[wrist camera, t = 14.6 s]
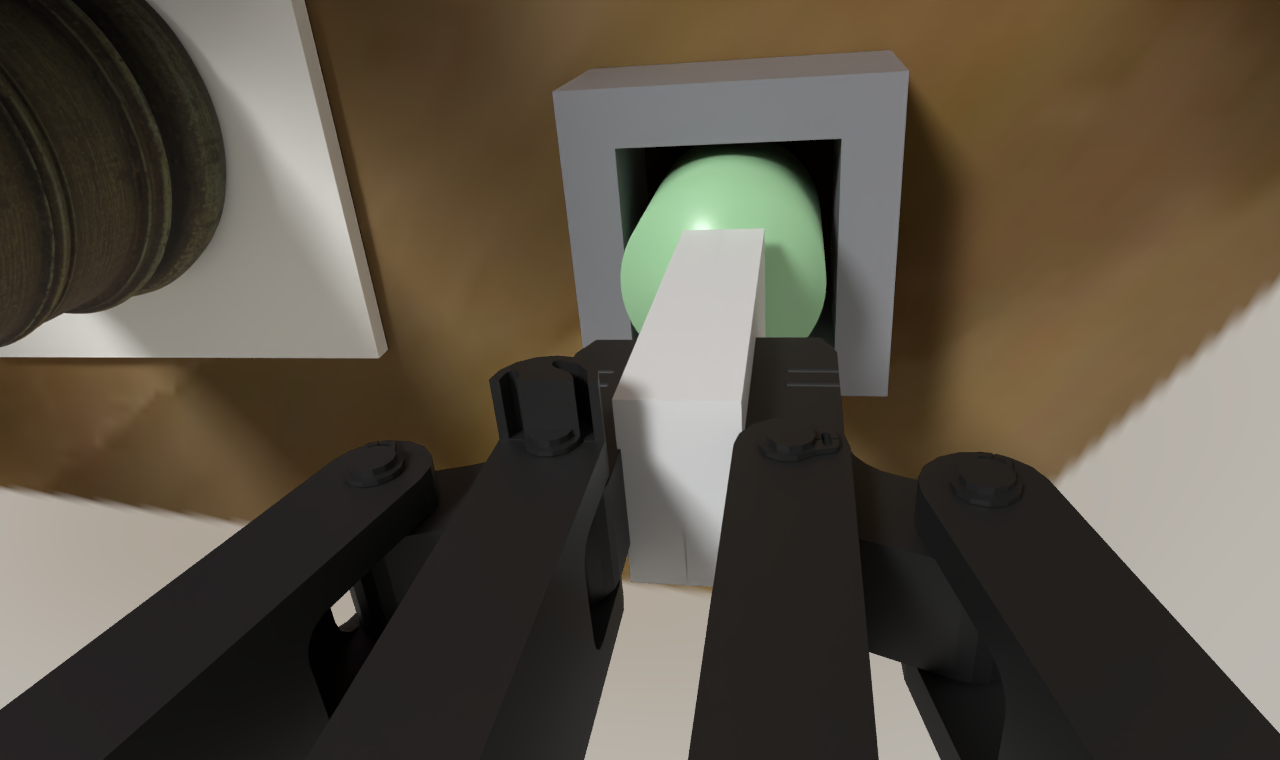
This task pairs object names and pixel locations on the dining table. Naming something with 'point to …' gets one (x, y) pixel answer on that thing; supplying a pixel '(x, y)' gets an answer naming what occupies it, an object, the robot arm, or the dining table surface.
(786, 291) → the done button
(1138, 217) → the dining table surface
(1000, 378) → the dining table surface
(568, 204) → the button housing
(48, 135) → the container
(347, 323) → the paper sheet
